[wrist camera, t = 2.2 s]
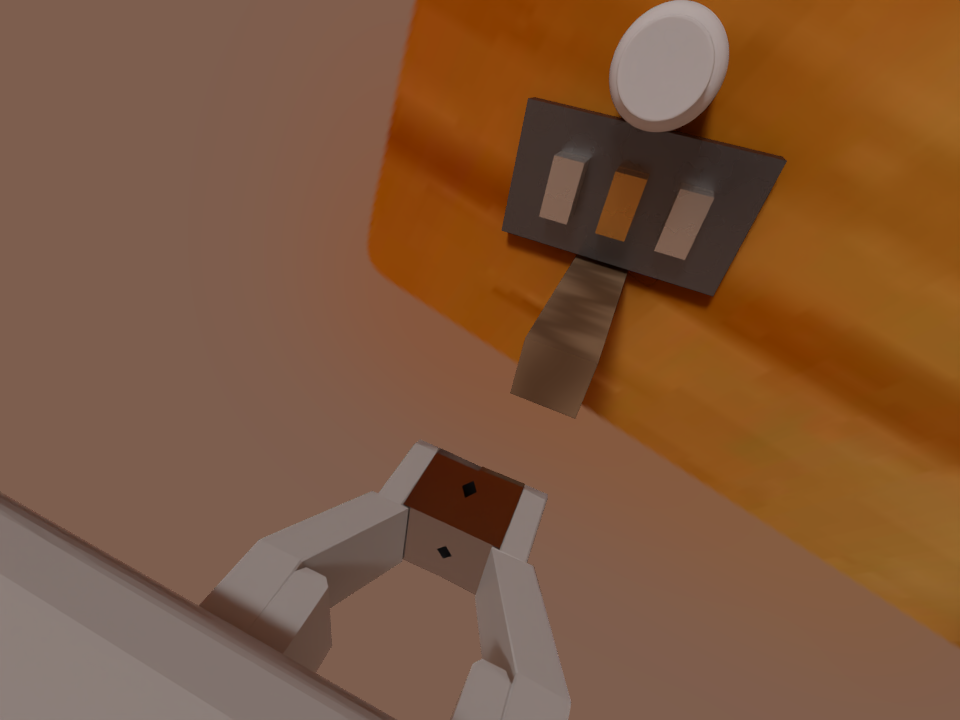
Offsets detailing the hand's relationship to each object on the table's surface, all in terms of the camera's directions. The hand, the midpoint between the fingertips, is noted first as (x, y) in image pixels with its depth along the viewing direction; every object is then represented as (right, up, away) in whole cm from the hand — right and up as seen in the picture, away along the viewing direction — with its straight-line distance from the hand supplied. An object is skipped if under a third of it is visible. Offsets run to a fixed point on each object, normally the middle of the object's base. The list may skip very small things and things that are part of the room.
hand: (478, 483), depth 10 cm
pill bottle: (+12, +20, +17) cm, 29 cm away
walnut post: (+9, +9, +26) cm, 29 cm away
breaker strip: (+10, +14, +22) cm, 28 cm away
